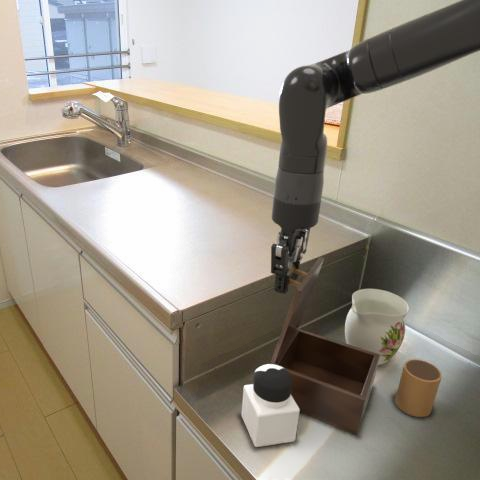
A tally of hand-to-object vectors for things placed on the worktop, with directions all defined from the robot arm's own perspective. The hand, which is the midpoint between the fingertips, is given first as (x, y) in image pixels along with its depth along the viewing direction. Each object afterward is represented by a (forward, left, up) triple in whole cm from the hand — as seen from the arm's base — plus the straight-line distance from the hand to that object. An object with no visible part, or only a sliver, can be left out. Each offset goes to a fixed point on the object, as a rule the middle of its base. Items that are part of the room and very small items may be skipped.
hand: (286, 284), depth 81 cm
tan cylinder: (-23, -9, -21) cm, 32 cm away
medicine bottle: (-5, +13, -21) cm, 25 cm away
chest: (-9, -1, -21) cm, 23 cm away
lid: (-3, 0, -5) cm, 5 cm away
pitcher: (-12, -19, -21) cm, 31 cm away
